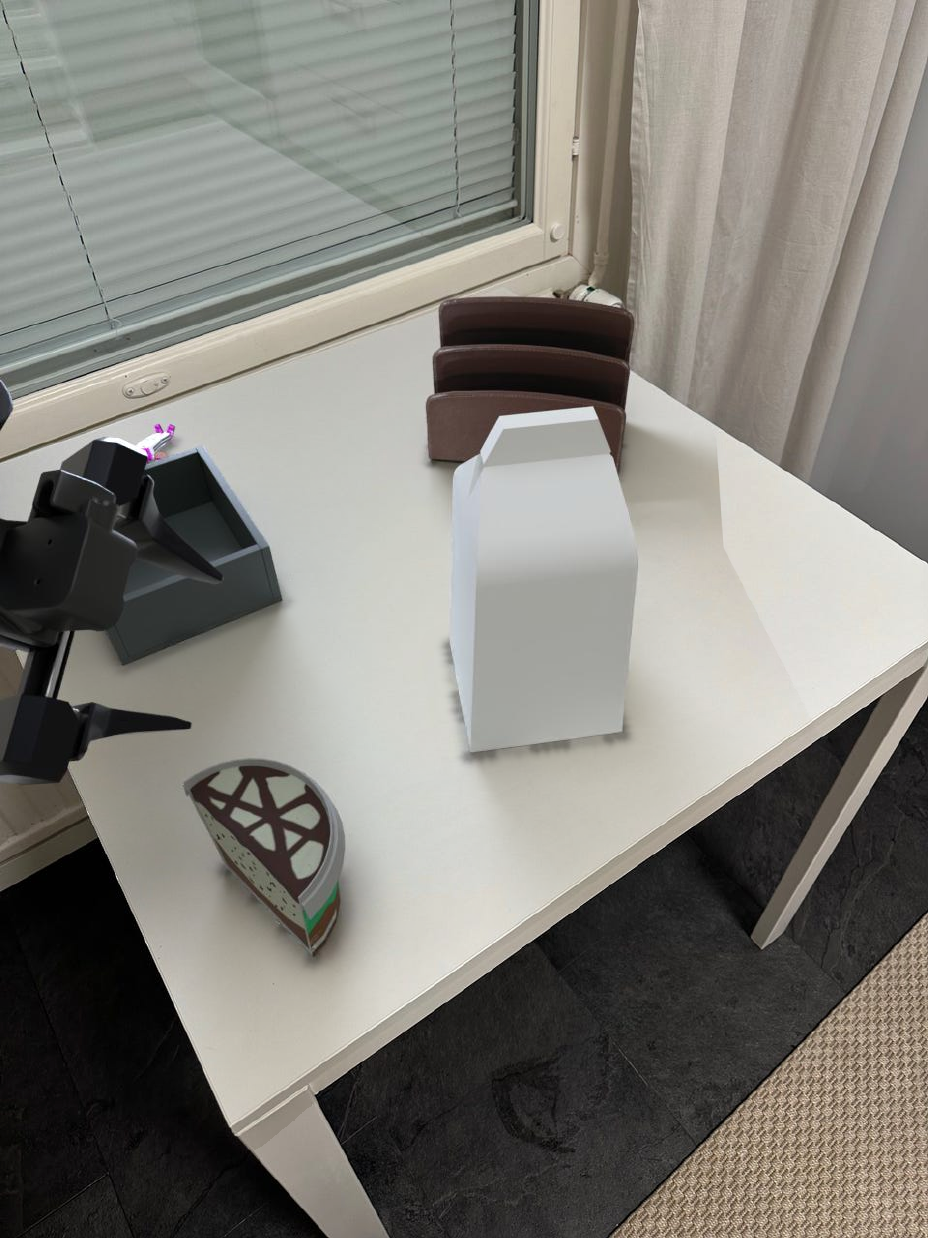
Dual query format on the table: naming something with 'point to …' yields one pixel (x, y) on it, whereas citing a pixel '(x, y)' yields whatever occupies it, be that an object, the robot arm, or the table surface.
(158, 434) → the character figurine
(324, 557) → the table surface
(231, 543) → the storage box
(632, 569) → the milk
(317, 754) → the table surface
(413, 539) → the table surface
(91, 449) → the robot arm
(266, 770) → the cake slice
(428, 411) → the letter holder
